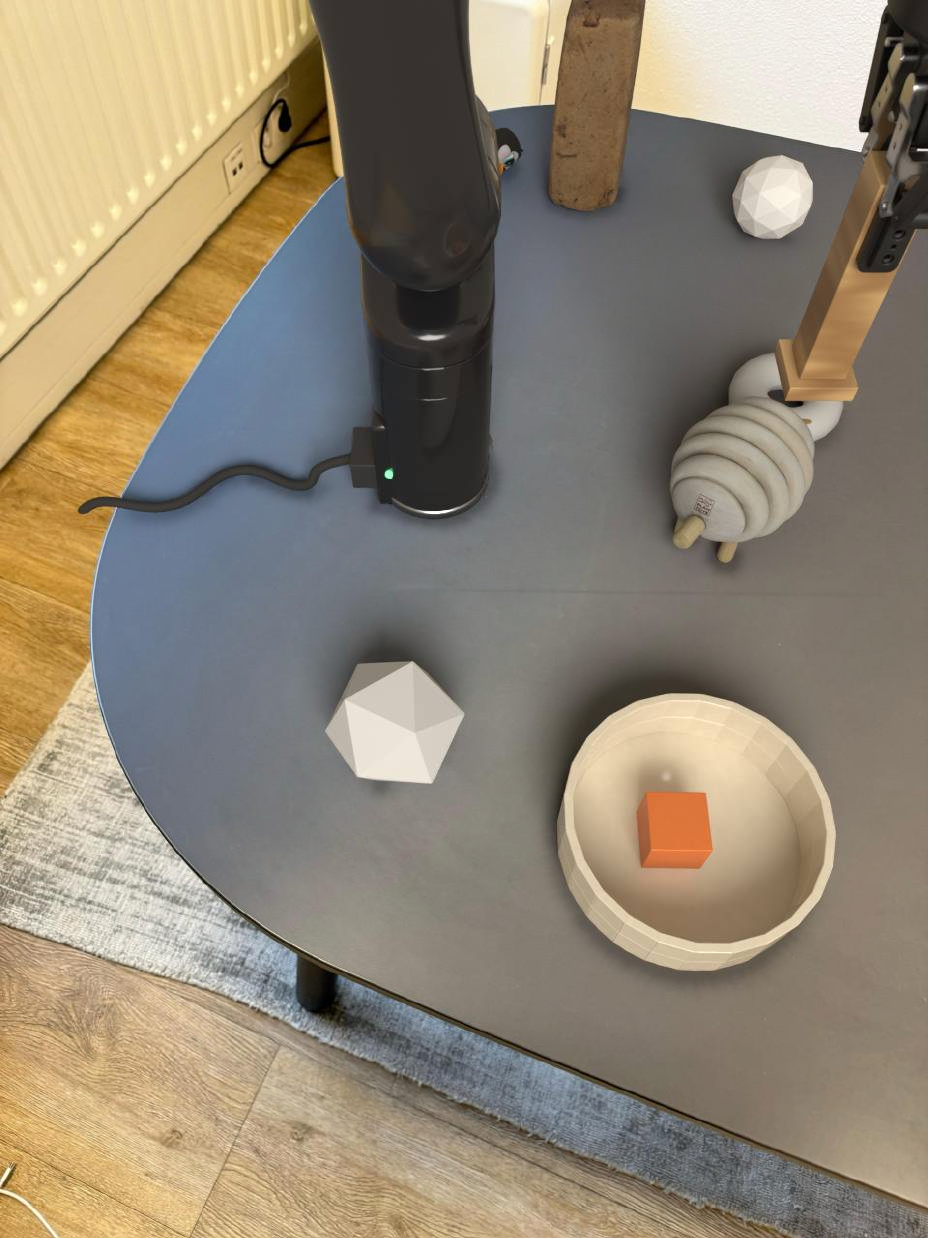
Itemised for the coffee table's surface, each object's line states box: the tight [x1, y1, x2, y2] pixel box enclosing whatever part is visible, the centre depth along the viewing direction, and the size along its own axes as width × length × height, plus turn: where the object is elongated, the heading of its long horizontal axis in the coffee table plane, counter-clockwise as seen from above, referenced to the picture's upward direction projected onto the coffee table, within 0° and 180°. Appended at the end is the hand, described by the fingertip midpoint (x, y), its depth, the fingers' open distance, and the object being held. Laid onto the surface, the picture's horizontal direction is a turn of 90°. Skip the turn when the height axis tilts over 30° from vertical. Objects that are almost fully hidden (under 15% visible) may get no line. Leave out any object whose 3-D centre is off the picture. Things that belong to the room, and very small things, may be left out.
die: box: [324, 660, 466, 785], centre depth 67 cm, size 8×9×10 cm
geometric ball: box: [731, 154, 814, 240], centre depth 97 cm, size 8×8×8 cm
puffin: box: [495, 127, 524, 176], centre depth 101 cm, size 7×7×12 cm
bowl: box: [556, 692, 837, 972], centre depth 65 cm, size 17×17×6 cm
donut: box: [728, 352, 844, 442], centre depth 86 cm, size 10×4×10 cm
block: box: [548, 0, 647, 212], centre depth 95 cm, size 11×8×20 cm
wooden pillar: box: [773, 151, 920, 402], centre depth 57 cm, size 4×4×15 cm
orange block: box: [637, 792, 713, 869], centre depth 65 cm, size 4×4×4 cm
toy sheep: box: [669, 396, 816, 563], centre depth 76 cm, size 11×17×11 cm, turn 147°
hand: (867, 245), depth 55 cm, fingers closed on wooden pillar, 3 cm apart
